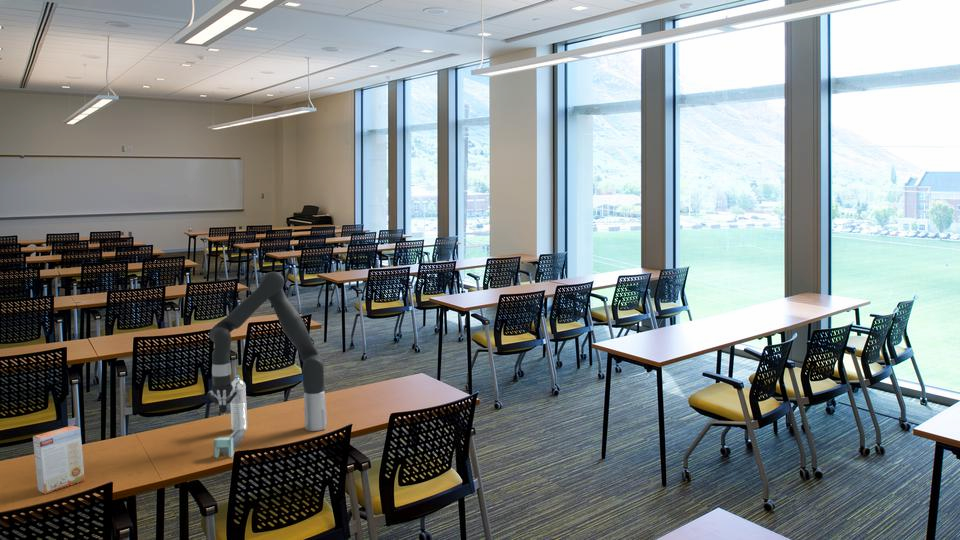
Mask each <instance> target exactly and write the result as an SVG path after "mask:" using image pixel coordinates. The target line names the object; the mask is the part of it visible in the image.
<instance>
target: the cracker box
mask: <svg viewBox="0 0 960 540" xmlns="http://www.w3.org/2000/svg"><path fill="white" fill-rule="evenodd" d="M32 441H33V452H34V453H33V454H34V461H35V473H36V474H35V475H36V483H37V491H38V490H39V491H41V492H43V493H47V492H50V491H53V490H56V489H59V488H62V487H65V486H67V485H71V484H74V483H77V484H80V483H83V482H85V478H86V477H85V471H84V470H85V467H84V457H83V446H82V434H81V427H79V426H76V425H68V426H65V427H61V428H58V429H55V430H50V431H47V432H43V433H40V434H36V435H33V436H32ZM82 481H83V482H82ZM79 482H80V483H79ZM74 485H75V484H74ZM71 486H72V485H71ZM65 488H66V487H65ZM62 489H63V488H62ZM39 491H38V492H39ZM41 492H40V493H41ZM43 493H42V494H43Z"/></svg>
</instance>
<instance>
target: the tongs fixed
mask: <svg viewBox="0 0 960 540" xmlns="http://www.w3.org/2000/svg"><path fill="white" fill-rule="evenodd" d="M244 438H245V431H244V429H240V430H239V431H238V432H237V434H236V435H235V436H234V437H233V451H234V450H235V449H236V448H237V447H238V446H239V445H240V443H241V442H242V441H241V440H244ZM240 441H241V442H240ZM220 452H221V454H225V455H224V456H229V448H228V447H220ZM221 454H220V455H221Z"/></svg>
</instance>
